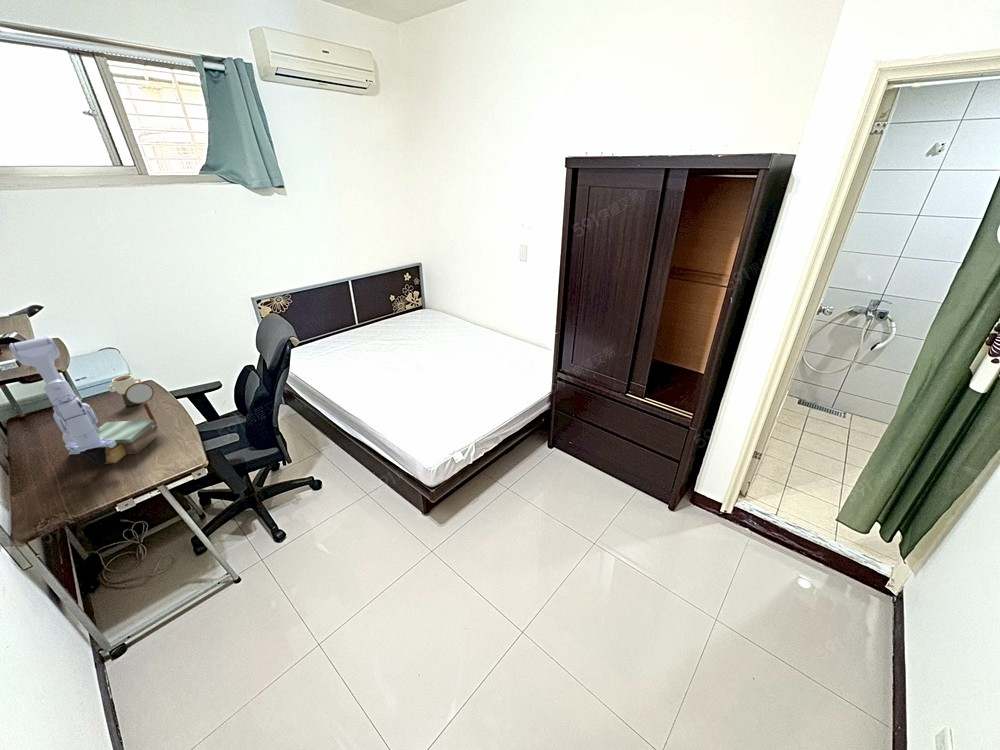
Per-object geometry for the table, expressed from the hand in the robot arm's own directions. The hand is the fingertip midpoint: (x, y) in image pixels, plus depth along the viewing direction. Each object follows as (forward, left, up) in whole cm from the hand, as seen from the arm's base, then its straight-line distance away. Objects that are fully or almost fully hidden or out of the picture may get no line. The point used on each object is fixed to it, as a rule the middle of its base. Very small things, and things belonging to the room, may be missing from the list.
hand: (102, 463), depth 140 cm
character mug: (-21, +45, -2) cm, 50 cm away
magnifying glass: (+1, +25, -2) cm, 25 cm away
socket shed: (0, +11, -1) cm, 11 cm away
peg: (0, +8, -2) cm, 8 cm away
